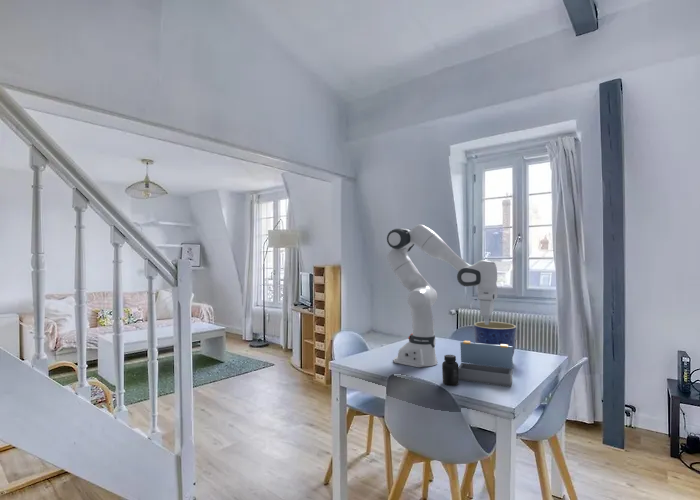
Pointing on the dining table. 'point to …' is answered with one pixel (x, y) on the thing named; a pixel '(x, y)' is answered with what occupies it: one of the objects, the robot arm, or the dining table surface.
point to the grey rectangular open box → (485, 374)
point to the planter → (495, 333)
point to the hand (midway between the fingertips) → (487, 323)
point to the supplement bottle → (450, 371)
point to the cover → (487, 354)
